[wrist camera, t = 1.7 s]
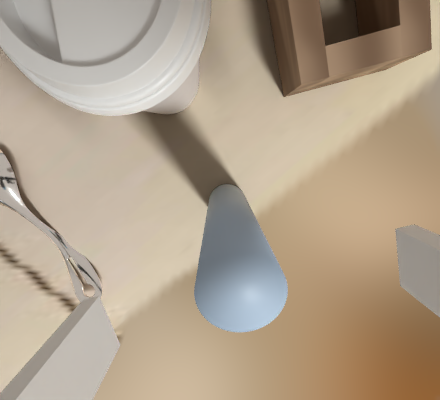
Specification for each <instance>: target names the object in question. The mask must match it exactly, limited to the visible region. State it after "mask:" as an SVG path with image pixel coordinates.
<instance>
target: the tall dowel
mask: <svg viewBox="0 0 440 400" xmlns="http://www.w3.org/2000/svg"><path fill="white" fill-rule="evenodd" d="M287 290H288V287H287V281H286V278H285V276H284V274H283V271H282V270H281V268H280V265H279V263H278V262H277V260H276V257H275V255H274V254H273V251H272V249H271V248H270V246H269V244H268V241H267V240H266V237H265V236H264V234H263V232H262V230H261V228H260V226H259V224H258V222H257V220H256V218H255V216H254V214H253V212H252V210H251V208H250V206H249V204H248V202H247V200H246V198H245V196H244V194H243V192H242V191H241V189H239V188H238V187H237V186H235V185H231V184H224V185H220V186H218V187H217V188H215V189H214V190H213V192H212V193H211V195H210V198H209V204H208V210H207V216H206V222H205V228H204V234H203V240H202V246H201V252H200V258H199V264H198V270H197V276H196V283H195V290H194V295H195V301H196V304H197V307H198V309H199V311H200V312H201V314H202V315H203V316H204V318H205V319H207V320H208V321H209V322H210V323H211V324H213V325H215V326H216V327H218V328H221V329H223V330H227V331H232V332H248V331H253V330H257V329H259V328H261V327H263V326H265V325H267V324H269V323H270V322H271V321H273V320H274V319H275V318H276V317H277V316H278V315H279V313H280V312H281V310H282V309H283V307H284V305H285V302H286V299H287V293H288V292H287Z"/></svg>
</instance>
